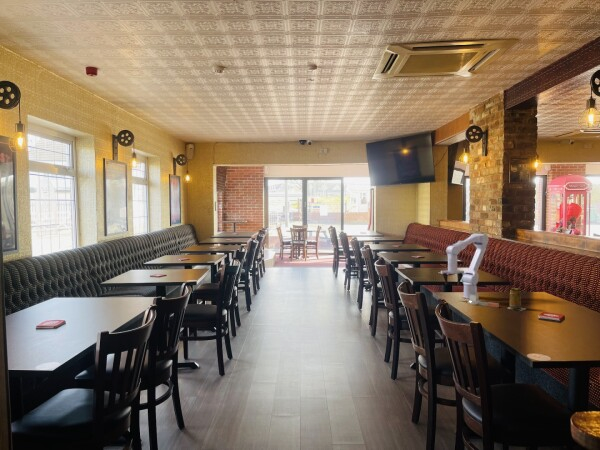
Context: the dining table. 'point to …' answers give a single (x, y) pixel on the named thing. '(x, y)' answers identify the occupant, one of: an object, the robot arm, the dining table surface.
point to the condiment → (515, 299)
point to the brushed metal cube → (473, 297)
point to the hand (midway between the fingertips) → (452, 284)
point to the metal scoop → (483, 303)
